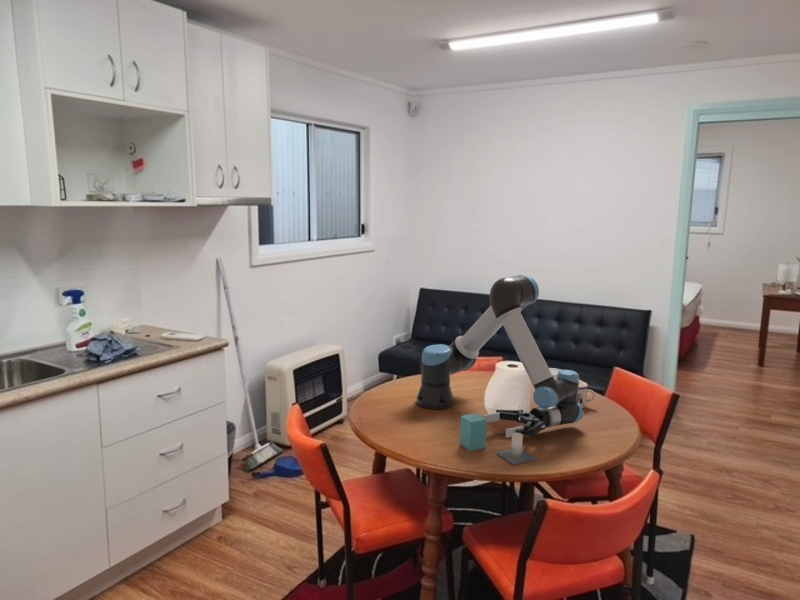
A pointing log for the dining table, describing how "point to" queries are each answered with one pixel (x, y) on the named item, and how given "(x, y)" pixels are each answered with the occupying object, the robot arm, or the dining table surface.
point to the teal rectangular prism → (473, 432)
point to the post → (516, 451)
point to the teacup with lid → (583, 393)
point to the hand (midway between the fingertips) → (494, 426)
